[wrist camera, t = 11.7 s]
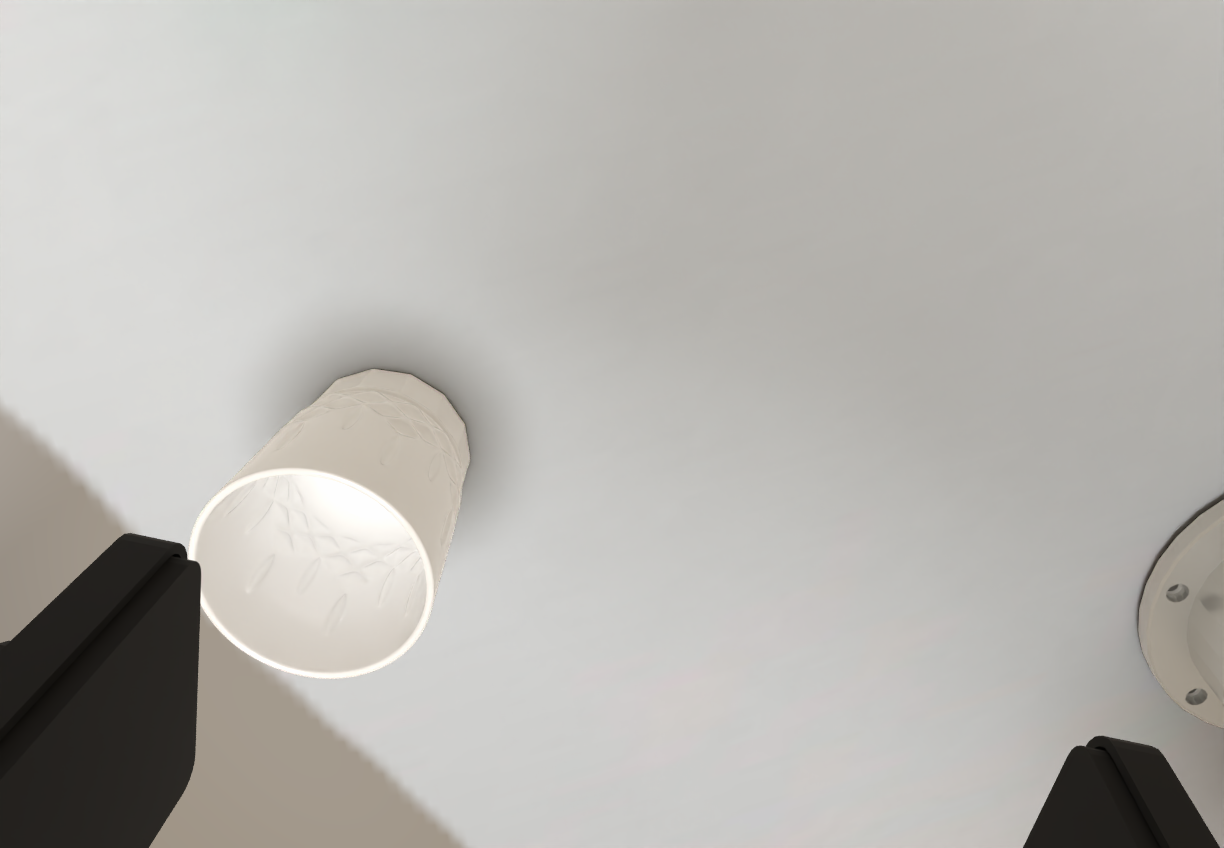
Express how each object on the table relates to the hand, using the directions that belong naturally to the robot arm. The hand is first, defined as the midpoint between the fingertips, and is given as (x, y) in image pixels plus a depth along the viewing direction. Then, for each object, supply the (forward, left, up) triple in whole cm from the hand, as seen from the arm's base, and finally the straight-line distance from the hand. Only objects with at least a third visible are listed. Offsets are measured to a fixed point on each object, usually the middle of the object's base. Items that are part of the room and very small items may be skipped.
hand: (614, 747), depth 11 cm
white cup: (+9, +12, -29) cm, 32 cm away
